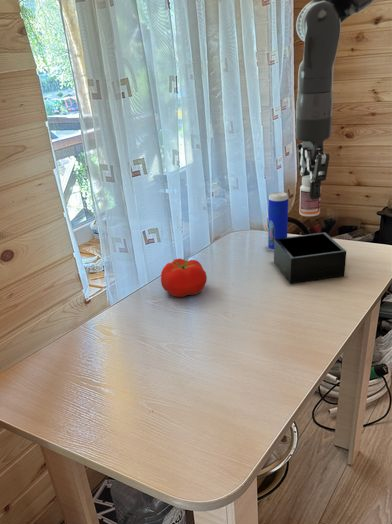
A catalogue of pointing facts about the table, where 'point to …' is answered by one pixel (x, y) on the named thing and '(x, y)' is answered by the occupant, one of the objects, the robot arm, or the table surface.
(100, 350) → the table surface
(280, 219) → the blue cylindrical container
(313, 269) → the black storage bin
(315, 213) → the pill bottle
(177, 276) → the tomato
